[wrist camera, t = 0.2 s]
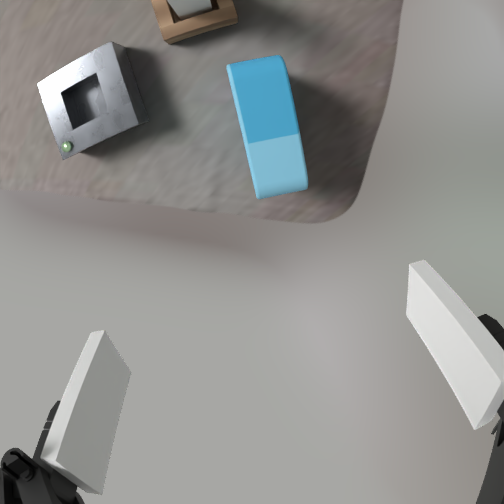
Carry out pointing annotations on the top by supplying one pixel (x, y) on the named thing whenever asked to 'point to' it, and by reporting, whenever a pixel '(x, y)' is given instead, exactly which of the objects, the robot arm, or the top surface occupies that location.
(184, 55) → the top surface
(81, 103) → the port
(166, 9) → the frame
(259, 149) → the data package
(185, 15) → the plug
